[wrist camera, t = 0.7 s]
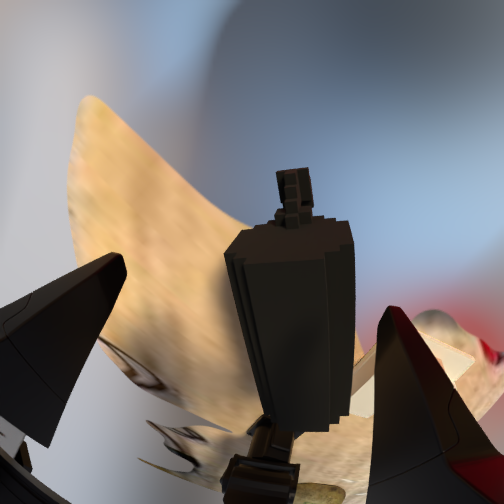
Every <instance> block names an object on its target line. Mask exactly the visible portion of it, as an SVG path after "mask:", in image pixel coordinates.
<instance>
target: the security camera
mask: <svg viewBox="0 0 504 504" xmlns="http://www.w3.org/2000/svg"><path fill="white" fill-rule="evenodd" d="M276 177H277V183H278V189H279V195H280V201H281V203H283V208H281V209H277V211H276V213H275V215H274V217H275V220H269V221H268V222H267V224H262V225H255V227H254V228H253V229H247V230H241V232H240V233H239V234H238V236H237V237H236V238H235V239H234V241H233V242H232V243H231V245H230V246H229V247H228V249H227V250H226V251H225V253H224V258H225V262H226V266H227V270H228V275H229V279H230V283H231V287H232V291H233V296H234V300H235V304H236V308H237V312H238V316H239V320H240V324H241V328H242V332H243V336H244V340H245V344H246V348H247V352H248V356H249V359H250V363H251V367H252V371H253V375H254V378H255V382H256V386H257V390H258V393H259V397H260V401H261V404H262V408H263V412H264V415H270V418H271V422H272V423H278V426H279V430H280V431H293V432H329V424H339V419H340V416H349V411H350V402H351V391H352V379H353V364H354V345H355V300H356V298H355V297H356V295H355V252H354V241H353V237H352V233H351V229H350V225H349V222H348V221H336V218H327V219H324V215H323V216H312V208H313V207H314V202H313V194H312V187H311V179H310V176H309V169H308V167H307V168H298V169H289V170H281V171H277V172H276Z"/></svg>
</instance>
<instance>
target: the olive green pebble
mask: <svg viewBox="0 0 504 504" xmlns="http://www.w3.org/2000/svg"><path fill="white" fill-rule="evenodd" d="M345 495H346V493H345V491H344V490H343V489H341V488H340V487H338V486H329V485H323V484H317V483H306V484H297V490H296V494H295V498H294V502H293V504H341V503H342V502H343V500H344V499H345Z"/></svg>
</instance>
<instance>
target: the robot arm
mask: <svg viewBox="0 0 504 504" xmlns="http://www.w3.org/2000/svg"><path fill="white" fill-rule="evenodd" d="M126 277H127V270H126V266H125V262H124V258H123V256H122V255H121V254H119V253H115V252H111V253H108V254H106V255H104V256H102V257H100V258H98V259H96V260H94V261H92V262H90V263H88V264H86V265H84V266H82V267H80V268H78V269H76V270H74V271H72V272H70V273H68V274H66V275H64V276H62V277H60V278H58V279H56V280H54V281H52V282H51V283H48V284H47V285H44V286H43V287H41V288H39V289H37V290H35V291H33V293H29V294H28V295H26V296H24V297H22V298H20V299H18V300H16V301H15V302H13V303H11V304H8V305H6V306H4V307H2V308H0V504H71V503H70V502H68V501H67V500H65V499H64V498H62V497H61V496H59V495H58V494H57V493H55V492H54V491H52V490H51V489H50V488H48V487H47V486H46V485H44V484H43V483H42V482H40V481H39V480H38V479H37V478H35V477H34V476H33V475H32V474H31V472H32V469H33V468H32V465H31V461H30V457H29V453H28V448H27V444H26V442H25V441H24V438H25V436H26V435H27V436H29V437H30V438H32V439H33V440H35V441H36V442H38V443H40V444H41V445H43V446H44V447H46V448H49V446H50V444H51V441H52V439H53V436H54V433H55V431H56V428H57V426H58V423H59V420H60V418H61V416H62V413H63V411H64V409H65V406H66V403H67V401H68V399H69V396H70V394H71V392H72V390H73V388H74V386H75V383H76V381H77V379H78V377H79V375H80V373H81V370H82V368H83V366H84V364H85V362H86V360H87V358H88V356H89V354H90V352H91V350H92V348H93V346H94V344H95V342H96V340H97V338H98V336H99V334H100V332H101V331H102V329H103V327H104V325H105V323H106V321H107V319H108V317H109V315H110V314H111V312H112V309H113V307H114V305H115V302H116V300H117V298H118V296H119V293H120V291H121V289H122V286H123V284H124V282H125V280H126ZM303 433H304V432H293V431H280V430H279V426H278V423H272V422H271V418H270V416H268V415H262V416H261V417H260V418H259V419H258V421H257V422H256V423H255V424H254V425H253V426H252V427H251V428H250V429H249V430H248V431H247V434H248V435H250V436H253V439H252V442H251V445H250V449H249V452H248V455H247V457H245V456H240V455H238V454H235V455H234V457H233V458H231V459H230V462H229V465H228V467H227V469H226V471H225V472H224V474H223V476H222V477H221V479H220V483H221V485H222V493H223V494H224V498H223V502H224V504H293V502H294V498H295V494H296V490H297V484H298V477H299V470H300V464H290V459H291V454H292V448H293V443H294V440H295V439H296V438H298V437H299V436H300V435H302V434H303ZM366 504H504V455H502V454H501V453H500V452H498V451H497V449H496V448H495V447H494V446H493V444H492V443H491V442H490V440H489V439H488V437H487V436H486V434H485V433H484V431H483V430H482V428H481V427H480V425H479V424H478V422H477V421H476V420H475V418H474V417H473V415H472V414H471V412H470V411H469V409H468V408H467V406H466V404H465V403H464V401H463V400H462V398H461V396H460V395H459V393H458V391H457V390H456V388H454V385H453V384H452V382H451V380H450V379H449V377H448V376H447V374H446V372H445V371H444V369H443V368H442V366H441V365H440V363H439V362H438V360H437V359H436V357H435V356H434V354H433V353H432V351H431V350H430V348H429V347H428V345H427V344H426V342H425V341H424V339H423V338H422V337H421V335H420V334H419V332H418V331H417V329H416V328H415V327H414V325H413V324H412V322H411V321H410V320H409V318H408V317H407V315H406V314H405V313H404V311H403V310H402V309H401V308H400V307H397V306H388V307H387V308H386V310H385V312H384V314H383V316H382V318H381V320H380V321H379V324H378V328H377V343H376V356H375V368H374V423H373V442H372V455H371V466H370V476H369V486H368V491H367V499H366Z"/></svg>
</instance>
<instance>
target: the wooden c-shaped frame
mask: <svg viewBox="0 0 504 504" xmlns="http://www.w3.org/2000/svg"><path fill="white" fill-rule="evenodd" d="M417 331H418V330H417ZM418 332H419V334H420V335H421V337H422V338H423V339H424V341H425V342H426V344H427V345H428V347H429V348H430V350H431V351H432V353H433V354H434V356H435V357H436V359H437V360H438V362H439V363H440V365H441V366H442V368H443V369H444V371H445V372H446V374H447V376H448V377H449V379H450V380H451V382H452V384H453V385H454V388H456V385H455V381H456V380H457V379H458V378H459V377H460V376H461V375H462V374H463V373H464V372H465V371H466V370H467V369H468V368H469V367H470V366H471V365H472V364H473V363H474V362H475V359H474V357H473V356H471V355H469V354H467V353H464V352H462V351H460V350H458V349H456V348H454V347H452V346H450V345H447V344H445V343H443V342H441V341H439V340H437V339H435V338H432V337H430V336H428V335H426V334H424V333H422V332H420V331H418ZM376 343H377V342H376ZM375 356H376V344H375V345H374V346H373V347H372V348H371V349H370V350H369V352H368V353H367V354H366V355H365V356H364V357H363V358H362V359H361V361H360V362H359V363H358V364H357V365H356V366H355V367H354V368H353V379H352V391H351V402H350V411H349V413H350V414H354V415H357V416H361V417H364V418H369V417H370V416H372V415H373V414H374V368H375ZM456 390H457V388H456Z"/></svg>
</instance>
